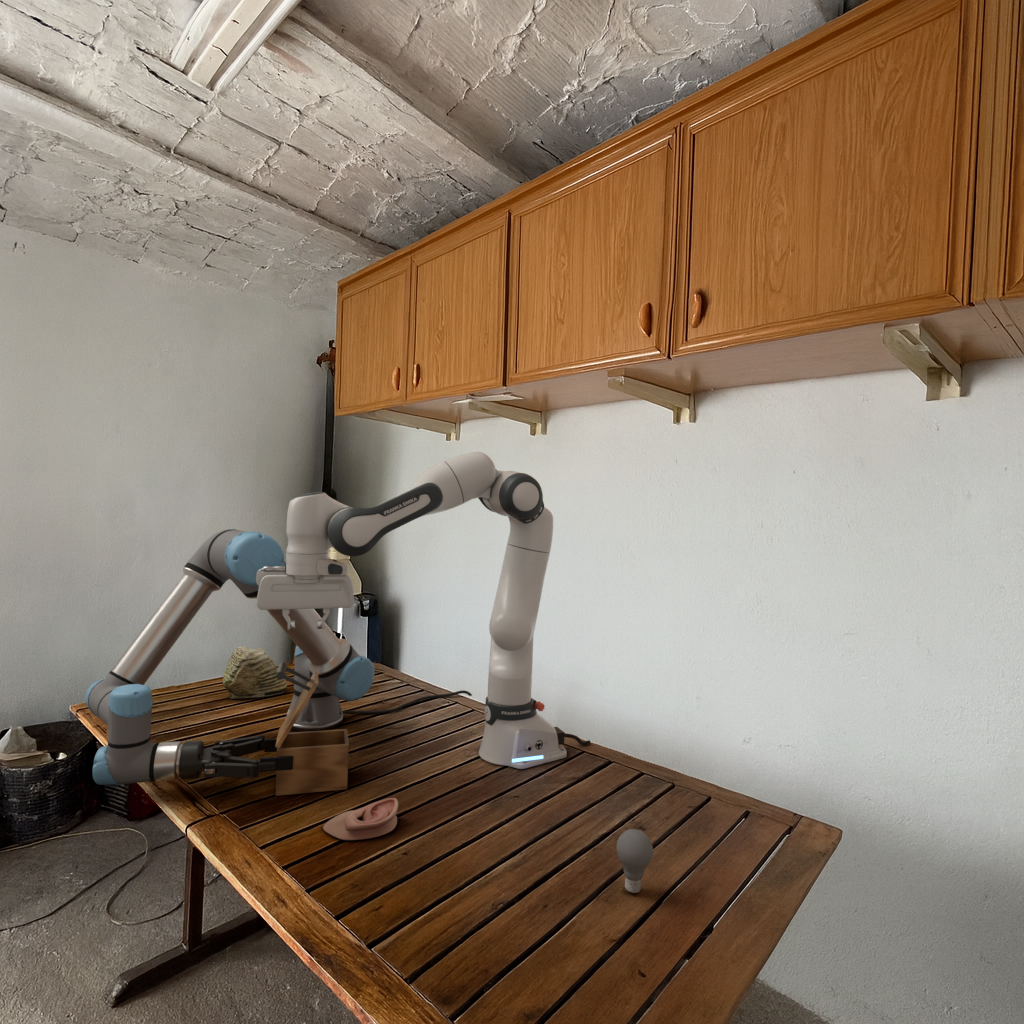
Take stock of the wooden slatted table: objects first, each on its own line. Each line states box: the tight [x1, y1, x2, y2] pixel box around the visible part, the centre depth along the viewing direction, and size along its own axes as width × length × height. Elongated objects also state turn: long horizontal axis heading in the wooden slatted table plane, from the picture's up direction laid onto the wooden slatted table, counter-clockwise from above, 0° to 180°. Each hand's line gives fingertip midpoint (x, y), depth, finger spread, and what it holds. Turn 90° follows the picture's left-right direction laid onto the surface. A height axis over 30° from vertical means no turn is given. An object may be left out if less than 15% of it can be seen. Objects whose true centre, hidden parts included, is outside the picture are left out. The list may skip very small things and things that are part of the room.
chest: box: [275, 728, 350, 797], centre depth 140 cm, size 15×10×10 cm, turn 107°
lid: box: [275, 662, 318, 748], centre depth 138 cm, size 15×10×8 cm
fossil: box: [222, 646, 288, 699], centre depth 198 cm, size 9×18×15 cm, turn 132°
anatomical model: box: [322, 797, 399, 841], centre depth 122 cm, size 13×4×12 cm
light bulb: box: [615, 828, 654, 894], centre depth 106 cm, size 6×6×10 cm
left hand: (294, 752), depth 139 cm, fingers closed on chest, 10 cm apart
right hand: (306, 628), depth 139 cm, fingers open, 5 cm apart
